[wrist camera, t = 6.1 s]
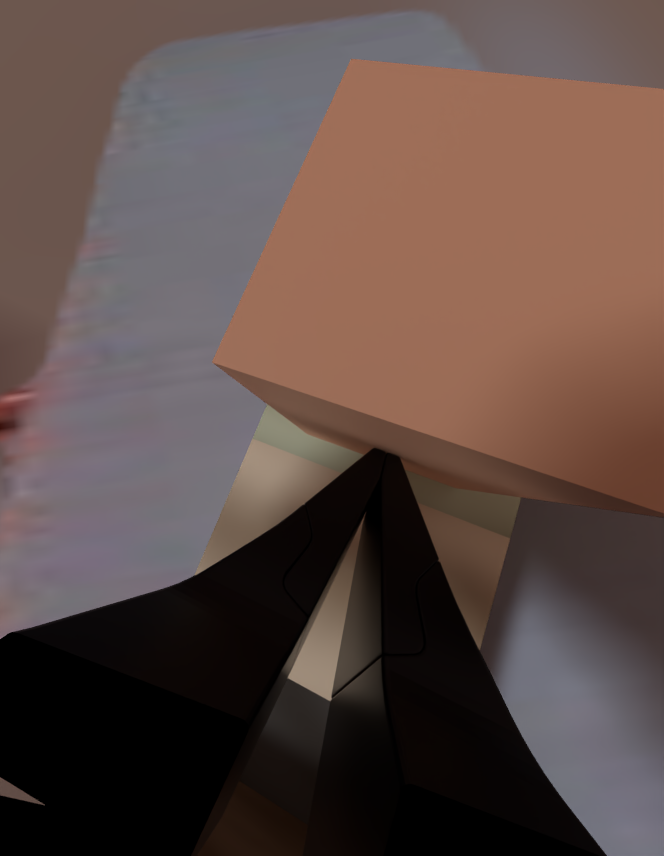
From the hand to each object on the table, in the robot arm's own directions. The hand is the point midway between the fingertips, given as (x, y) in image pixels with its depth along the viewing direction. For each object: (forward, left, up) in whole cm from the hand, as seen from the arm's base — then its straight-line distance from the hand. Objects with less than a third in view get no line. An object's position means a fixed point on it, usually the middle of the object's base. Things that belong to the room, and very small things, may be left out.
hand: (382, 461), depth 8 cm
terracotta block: (+4, 0, -4) cm, 5 cm away
